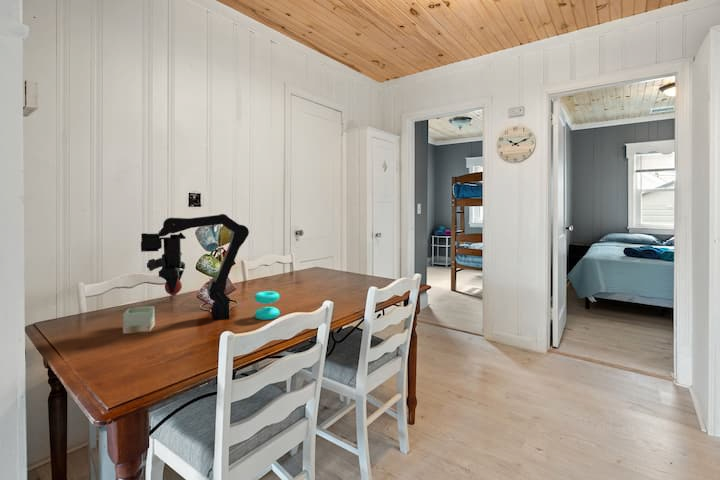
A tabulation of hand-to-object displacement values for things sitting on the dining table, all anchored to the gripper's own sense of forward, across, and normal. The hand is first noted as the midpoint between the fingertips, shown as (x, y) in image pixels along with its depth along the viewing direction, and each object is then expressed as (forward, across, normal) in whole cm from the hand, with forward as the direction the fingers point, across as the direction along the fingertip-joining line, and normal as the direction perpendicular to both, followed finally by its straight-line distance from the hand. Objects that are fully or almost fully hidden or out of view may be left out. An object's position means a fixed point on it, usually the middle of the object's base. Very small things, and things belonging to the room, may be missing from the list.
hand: (173, 291), depth 143 cm
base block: (+13, +4, -11) cm, 18 cm away
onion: (+2, 0, 0) cm, 2 cm away
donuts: (+13, 0, +35) cm, 37 cm away
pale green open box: (+10, +3, -11) cm, 16 cm away
